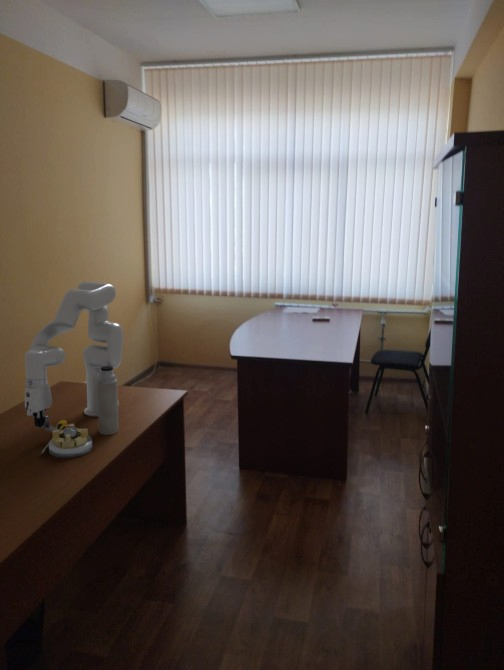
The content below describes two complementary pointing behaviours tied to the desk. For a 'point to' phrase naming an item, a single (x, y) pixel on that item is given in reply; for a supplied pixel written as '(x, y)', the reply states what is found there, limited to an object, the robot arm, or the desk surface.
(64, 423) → the screwdriver
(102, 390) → the thermos bottle
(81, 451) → the plate with blocky chunks
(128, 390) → the desk surface
